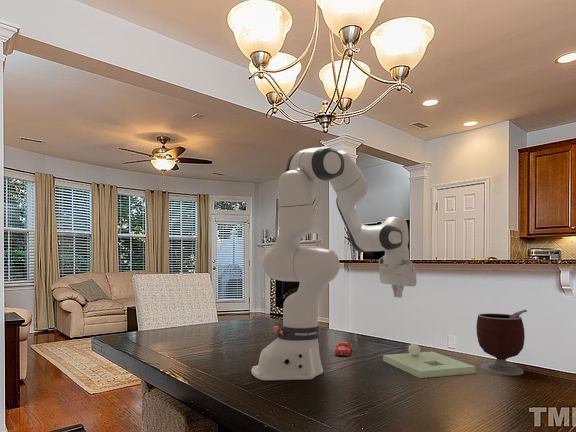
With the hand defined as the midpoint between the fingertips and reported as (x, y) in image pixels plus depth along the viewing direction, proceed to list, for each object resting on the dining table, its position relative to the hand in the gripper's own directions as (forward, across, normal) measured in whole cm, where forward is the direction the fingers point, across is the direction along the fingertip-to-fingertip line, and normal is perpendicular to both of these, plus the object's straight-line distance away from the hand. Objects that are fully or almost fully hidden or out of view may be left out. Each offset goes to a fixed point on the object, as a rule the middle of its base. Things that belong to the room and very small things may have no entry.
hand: (397, 297), depth 158 cm
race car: (+22, +9, +18) cm, 30 cm away
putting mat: (+21, -17, 0) cm, 27 cm away
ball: (+17, -10, 0) cm, 20 cm away
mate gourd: (+21, -28, -21) cm, 41 cm away
